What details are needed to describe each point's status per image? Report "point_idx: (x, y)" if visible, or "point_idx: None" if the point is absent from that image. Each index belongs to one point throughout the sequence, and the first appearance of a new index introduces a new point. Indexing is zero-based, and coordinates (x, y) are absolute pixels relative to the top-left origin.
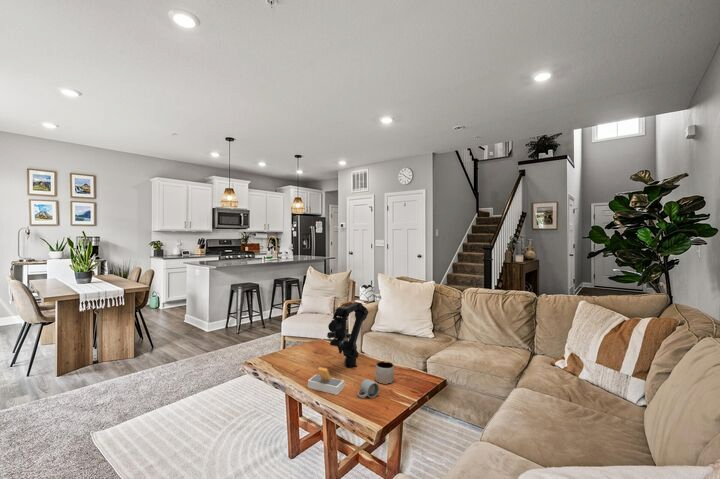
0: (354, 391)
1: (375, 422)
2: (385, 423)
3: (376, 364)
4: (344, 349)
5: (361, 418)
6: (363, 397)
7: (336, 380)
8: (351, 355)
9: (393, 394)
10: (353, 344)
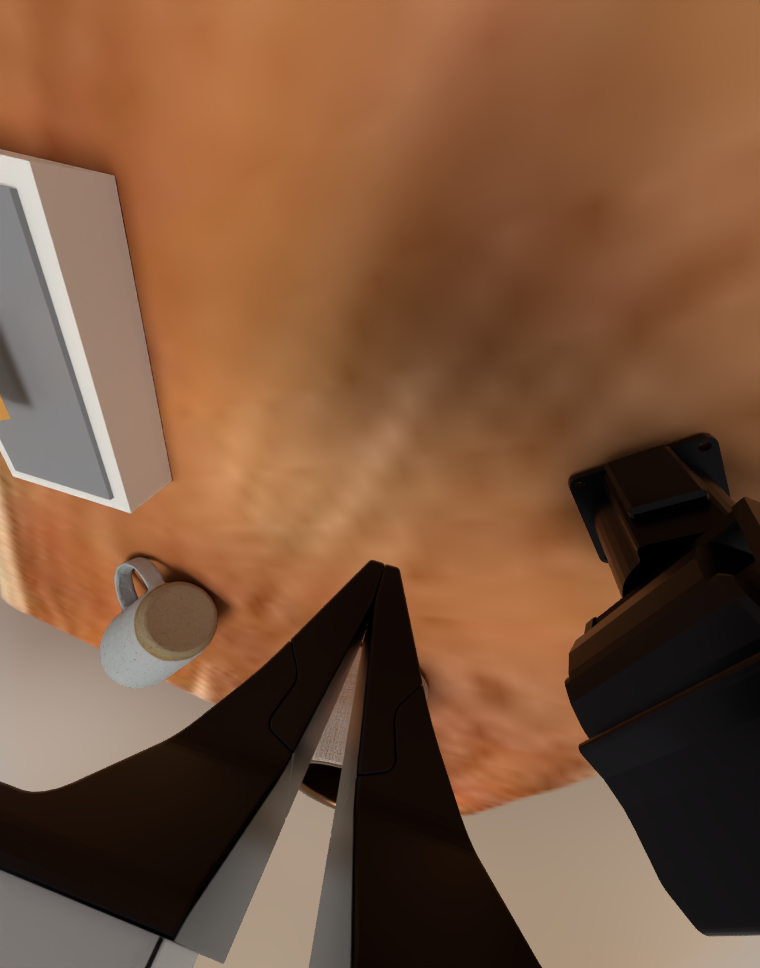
0: (171, 539)
1: (26, 599)
2: (48, 623)
3: (325, 762)
4: (709, 628)
5: (4, 562)
6: (129, 580)
7: (79, 459)
8: (584, 634)
9: (247, 676)
10: (687, 889)
